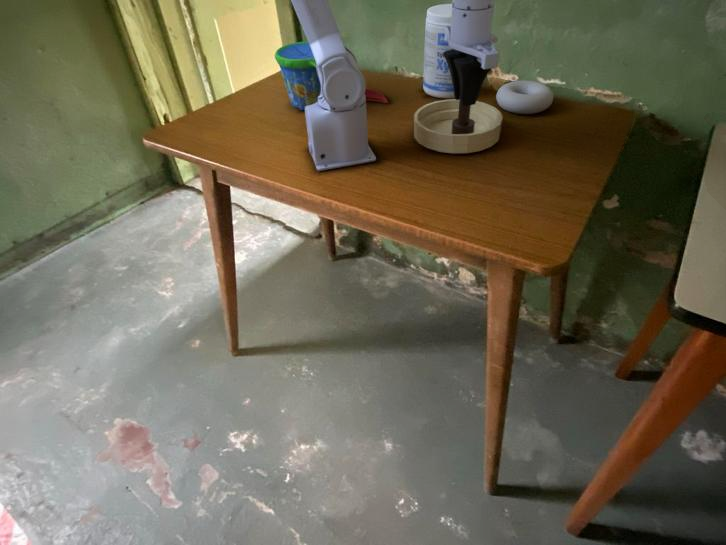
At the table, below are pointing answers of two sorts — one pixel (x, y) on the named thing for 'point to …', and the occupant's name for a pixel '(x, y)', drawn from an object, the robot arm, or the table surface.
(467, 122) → the pestle
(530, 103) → the donut
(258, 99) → the table surface
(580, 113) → the table surface
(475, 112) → the bowl
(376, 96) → the red curved leaf
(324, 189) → the table surface
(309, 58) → the snack cup
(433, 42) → the supplement tub
